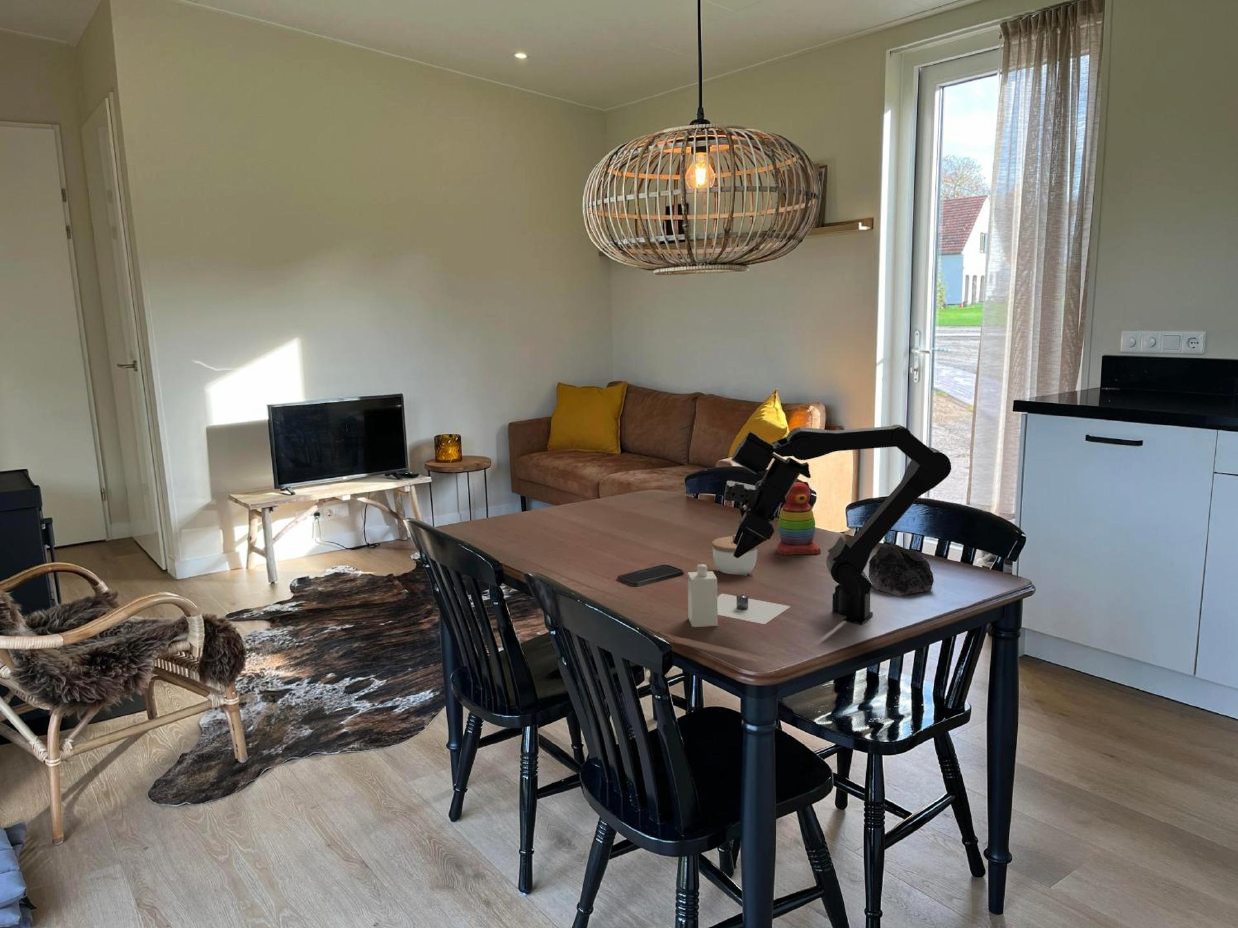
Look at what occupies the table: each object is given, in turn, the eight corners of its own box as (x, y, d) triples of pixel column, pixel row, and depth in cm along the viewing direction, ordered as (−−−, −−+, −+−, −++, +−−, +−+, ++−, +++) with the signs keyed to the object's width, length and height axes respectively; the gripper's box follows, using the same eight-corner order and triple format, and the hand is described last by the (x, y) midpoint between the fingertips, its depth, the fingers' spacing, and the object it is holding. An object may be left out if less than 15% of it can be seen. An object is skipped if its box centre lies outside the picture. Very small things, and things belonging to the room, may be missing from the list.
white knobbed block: (713, 621, 174) (712, 561, 171) (717, 630, 169) (717, 568, 166) (688, 622, 173) (687, 562, 171) (692, 631, 168) (691, 570, 166)
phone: (686, 571, 205) (634, 583, 197) (686, 575, 205) (634, 588, 197) (665, 563, 211) (615, 575, 203) (665, 568, 212) (615, 580, 203)
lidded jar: (703, 575, 204) (702, 536, 202) (728, 564, 212) (728, 527, 210) (741, 583, 197) (741, 543, 195) (766, 572, 205) (766, 533, 203)
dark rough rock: (941, 599, 185) (946, 554, 184) (878, 596, 185) (882, 550, 184) (920, 585, 198) (924, 542, 197) (861, 581, 198) (865, 538, 197)
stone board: (790, 610, 178) (790, 606, 178) (764, 628, 169) (764, 624, 168) (722, 597, 187) (722, 593, 187) (694, 614, 178) (694, 609, 178)
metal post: (750, 607, 178) (750, 595, 178) (744, 610, 176) (744, 599, 176) (739, 605, 179) (739, 593, 179) (734, 608, 178) (734, 597, 177)
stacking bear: (780, 555, 218) (780, 487, 215) (772, 545, 228) (772, 479, 225) (822, 554, 218) (823, 485, 215) (812, 543, 228) (813, 477, 225)
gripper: (739, 456, 180) (702, 518, 183) (740, 474, 161) (698, 543, 165) (786, 483, 179) (747, 545, 183) (792, 504, 161) (749, 572, 165)
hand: (735, 550), depth 174 cm, fingers open, 9 cm apart
